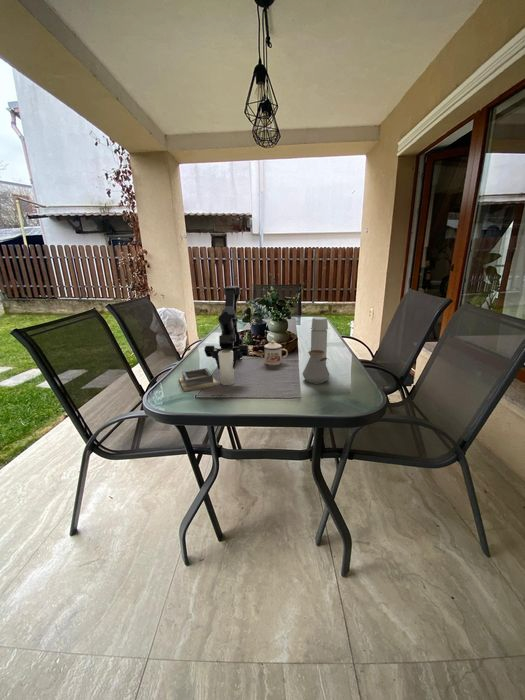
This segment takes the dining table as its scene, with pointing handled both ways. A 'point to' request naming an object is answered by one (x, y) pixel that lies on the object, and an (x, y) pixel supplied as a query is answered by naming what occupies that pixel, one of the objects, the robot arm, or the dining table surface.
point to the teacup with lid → (273, 353)
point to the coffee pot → (316, 368)
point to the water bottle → (319, 334)
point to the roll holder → (197, 379)
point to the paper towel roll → (226, 367)
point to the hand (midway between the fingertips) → (226, 368)
